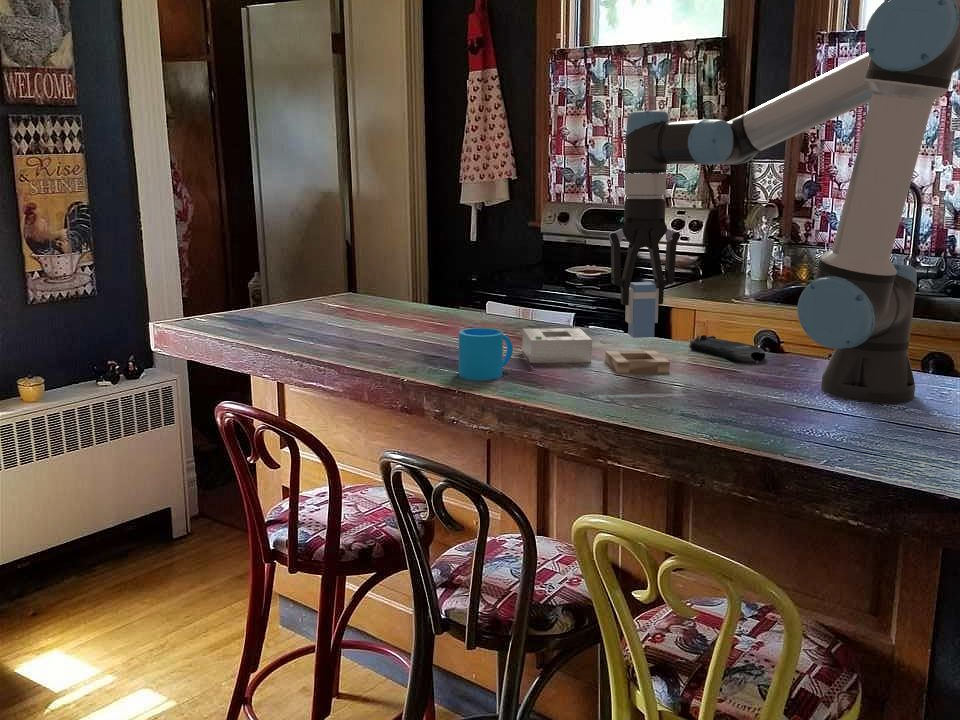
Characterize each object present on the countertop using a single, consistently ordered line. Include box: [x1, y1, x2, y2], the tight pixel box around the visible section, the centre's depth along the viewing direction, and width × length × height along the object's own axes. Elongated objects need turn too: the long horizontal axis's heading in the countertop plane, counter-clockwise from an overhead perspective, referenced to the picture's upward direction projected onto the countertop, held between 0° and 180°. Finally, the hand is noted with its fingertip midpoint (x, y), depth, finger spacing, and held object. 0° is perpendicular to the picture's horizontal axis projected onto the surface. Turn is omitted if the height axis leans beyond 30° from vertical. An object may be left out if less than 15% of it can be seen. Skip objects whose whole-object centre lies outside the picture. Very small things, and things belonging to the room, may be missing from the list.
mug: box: [458, 327, 514, 381], centre depth 171 cm, size 12×8×8 cm
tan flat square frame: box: [604, 350, 671, 374], centre depth 176 cm, size 10×10×2 cm
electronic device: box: [689, 334, 767, 364], centre depth 189 cm, size 9×6×15 cm
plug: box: [627, 281, 656, 339], centre depth 174 cm, size 4×4×10 cm
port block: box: [521, 327, 593, 366], centre depth 184 cm, size 12×12×5 cm
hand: (641, 321), depth 174 cm, fingers closed on plug, 4 cm apart
